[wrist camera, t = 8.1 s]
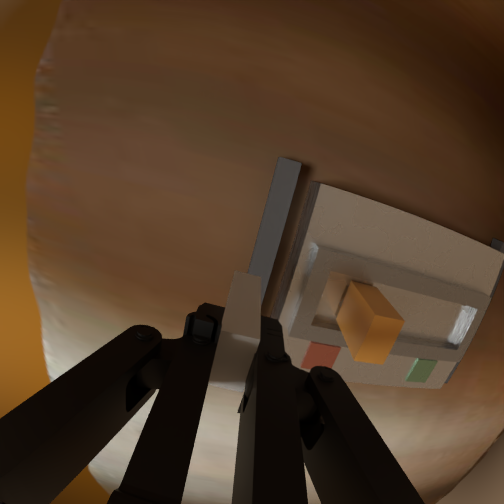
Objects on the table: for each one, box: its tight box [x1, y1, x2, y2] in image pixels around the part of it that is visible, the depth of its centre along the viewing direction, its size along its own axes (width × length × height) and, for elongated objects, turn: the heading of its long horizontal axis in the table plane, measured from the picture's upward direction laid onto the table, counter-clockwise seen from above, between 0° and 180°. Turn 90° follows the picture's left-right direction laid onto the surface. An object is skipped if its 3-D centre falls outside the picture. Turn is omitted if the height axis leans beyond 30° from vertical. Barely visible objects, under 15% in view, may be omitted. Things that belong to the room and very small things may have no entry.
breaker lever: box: [336, 281, 405, 365], centre depth 17 cm, size 3×2×5 cm, turn 166°
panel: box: [270, 181, 504, 389], centre depth 22 cm, size 14×18×5 cm
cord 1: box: [247, 157, 302, 305], centre depth 23 cm, size 16×2×2 cm, turn 166°
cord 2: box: [444, 238, 504, 383], centre depth 24 cm, size 16×2×2 cm, turn 166°
